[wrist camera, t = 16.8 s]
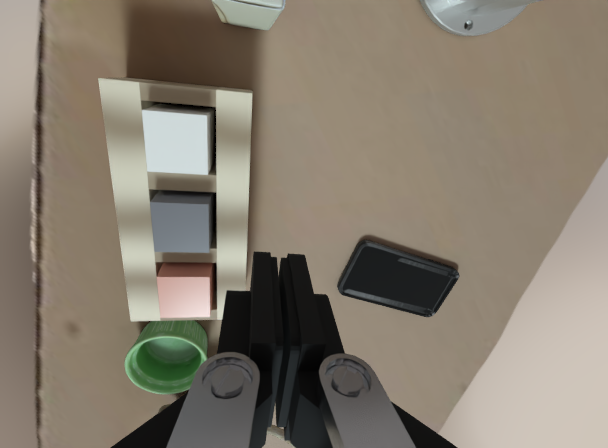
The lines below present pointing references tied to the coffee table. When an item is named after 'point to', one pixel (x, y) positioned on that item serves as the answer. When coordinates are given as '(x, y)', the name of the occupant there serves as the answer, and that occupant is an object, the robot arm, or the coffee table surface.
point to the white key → (179, 139)
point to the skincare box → (249, 12)
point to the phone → (396, 279)
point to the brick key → (186, 289)
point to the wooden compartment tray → (177, 186)
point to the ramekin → (167, 356)
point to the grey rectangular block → (183, 221)
